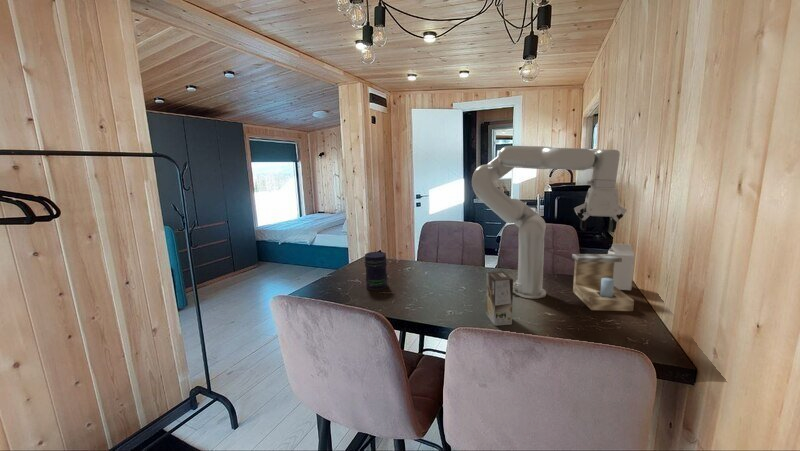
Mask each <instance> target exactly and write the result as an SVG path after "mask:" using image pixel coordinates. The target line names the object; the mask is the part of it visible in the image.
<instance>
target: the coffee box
mask: <svg viewBox="0 0 800 451" xmlns="http://www.w3.org/2000/svg"><path fill="white" fill-rule="evenodd" d="M513 283H514V279H513V278H512V277H511V276H510V275H508V273H506V272H505V271H502V270H501V271H500V270H499V271H497V270H496V271H488V272H487V271H486V295H485V296H486V303H485V304H486V306H485V307H486V310H485V311H486V312H485V313H486V316H487V318H488V319H489V320H490V321H491V323H492V324H493V326H497V327H498V326H510V325H512V324H513V301H514V300H513V298H514V297H513V296H514V289H513Z"/></svg>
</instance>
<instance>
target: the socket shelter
mask: <svg viewBox="0 0 800 451" xmlns="http://www.w3.org/2000/svg"><path fill="white" fill-rule="evenodd" d="M571 258H572V259H573V260H574V266H573V267H574V268H573V269H574V271H573V284H572V285H573V287H572V292H573V293H574V294H575V296H577V297H578V298H579V299H580V300H581V301H582V303H583V304H585V305H586V307H587V308H589V309H590V310H591V311H607V312H609V311H612V312H613V311H614V312H615V311H616V312H634V307H635V306H634V305H635V300H634V299H633V298H631V297H630V296H628V295H627V294H625V292H623V290H619V289H618V288H616V287H615V286H614V287H613V298H609V297H601V296H600V290H601V278H611V279H613V272H614V262H622V258H621V257H619V256H617V255H615V254H608V253H606V254H605V253H572V254H571Z"/></svg>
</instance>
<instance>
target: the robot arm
mask: <svg viewBox="0 0 800 451" xmlns="http://www.w3.org/2000/svg"><path fill="white" fill-rule="evenodd" d="M620 153H621V152H620V151H619V150H618V149H598V150H593V149H588V148H584V147H583V148H580V147H579V148H578V147H577V148H576V147H575V148H572V147H571V148H570V147H550V146H540V145H539V146H536V145H505V146H504V147H502V148H501V149H500V150H499V152H498V155H497V156H496V157H495V158H494V159H492V160H491V161H490V162H488V163H487V164H481V165H479V166H477V168H475V170H474V172H473V174H472V178H471V188H472V191H473V192H474V194H475V196H476V197H477V198H478V199H479V200H480V201H481V202H482V203H483V204H484V205H485V206H487V207H488V208H489V209H490V210H491V211H492V212H494V213H495V214H496V215H497V216H498V217H499V218H500V219H501V220H503V222H505V223H508V224H514V225H515V226H516V227H518V232H517V233H518V258H517V259H518V260H517V261H518V264H517V279H516V280H515V281H513V294H514V295H516V296H519V297H521V298H524V299H530V300H531V299H532V300H533V299H535V300H537V299H543V298H545V297H546V296H547V291H546V289H544V288H543V278H544V276H543V275H544V260H545V259H544V258H545V257H544V253H545V252H544V251H545V234H546V228H547V224H546V221H545V219H544V218H543V217H542V216H541V215H539V214H538V213H537V212H536V211H535V210H533V209H532V208H531V207H530V206H528V205H527V204H526V203H525V202H524V201H522V200H520V199H518V198H511V197H510V196H508V195H507V194H506V193H505V192H504V191H503V190H502V189H501V188H499V187H498V186H496V184H495V183H496V182H498V181H499V180H500V179H502V178H503V177H504V176H505V175H506V174H509V173H510V172H511V171H512V170H514V169H515V168H516V169H534V170H548V169H549V170H565V171H568V170H569V171H586V170H592V177H591V180H588V181H587V185H588V186H590V187H589V188H588V190H587V192H586V195H585V199H584V200H585V201H584V203H582V204H580V205H578V206H576V207H574V208H573V210H574V213H575V214H576V216H577V217H578V218H579V219H580V223H579V224H580V225H579V228H580V230H581V231H583V232H586V231H587V225H588V220H587V219H588V218H589V217H590V216H591V217H606V218H607V217H610V220H609V224H608V231H609V232H610V233H611V232H612V233H615V230H616V229H617V225H618V224H617V223H618V222H619V220H621V219H622V218H623V217H624V215H625V214H626V213H627V209H626V208H624V207H622V206H621V205H619V189H618V188H616V184H617V177H618V171H619V163H620V155H621V154H620ZM582 209H583V213H582V212H581V210H582ZM618 212H619V213H618Z"/></svg>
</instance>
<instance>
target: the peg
mask: <svg viewBox="0 0 800 451" xmlns="http://www.w3.org/2000/svg"><path fill="white" fill-rule="evenodd" d="M613 287H614V280H613V279H611V278H601V290H600V296H601V297H609V298H613Z"/></svg>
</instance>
